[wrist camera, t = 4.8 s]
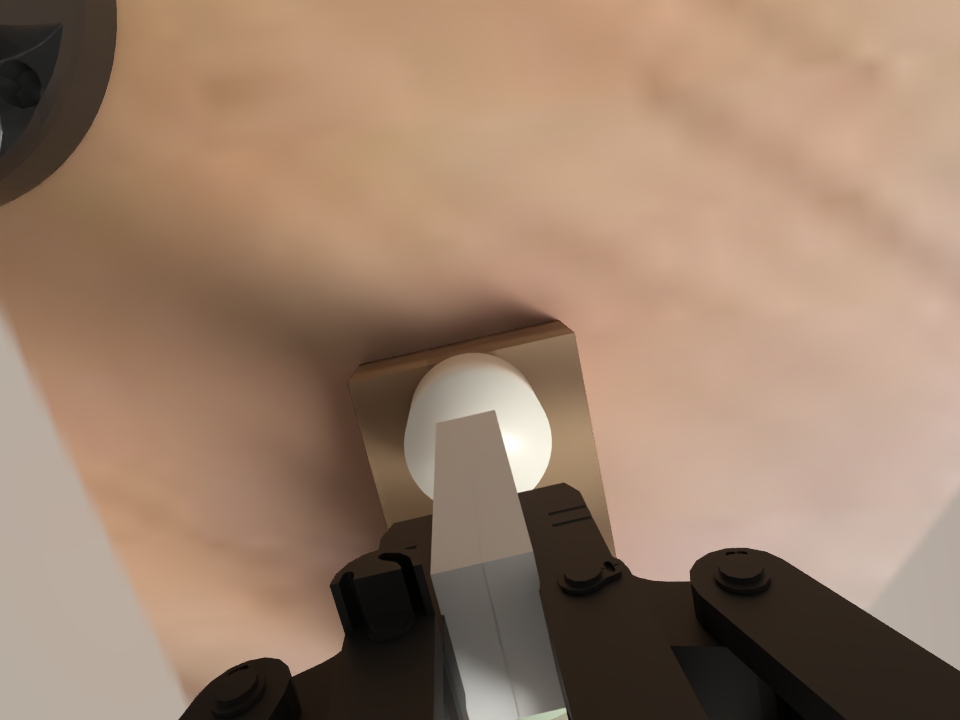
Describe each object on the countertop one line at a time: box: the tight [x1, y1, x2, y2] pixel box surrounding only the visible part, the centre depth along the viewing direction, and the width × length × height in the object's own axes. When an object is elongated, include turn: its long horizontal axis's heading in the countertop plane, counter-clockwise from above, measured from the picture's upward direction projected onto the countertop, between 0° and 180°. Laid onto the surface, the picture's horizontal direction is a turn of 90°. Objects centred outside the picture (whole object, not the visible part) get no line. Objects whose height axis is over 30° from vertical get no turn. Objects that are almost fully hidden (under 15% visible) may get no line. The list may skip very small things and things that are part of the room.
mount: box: [348, 320, 616, 720], centre depth 24 cm, size 15×8×3 cm, turn 12°
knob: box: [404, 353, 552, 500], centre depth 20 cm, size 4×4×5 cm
